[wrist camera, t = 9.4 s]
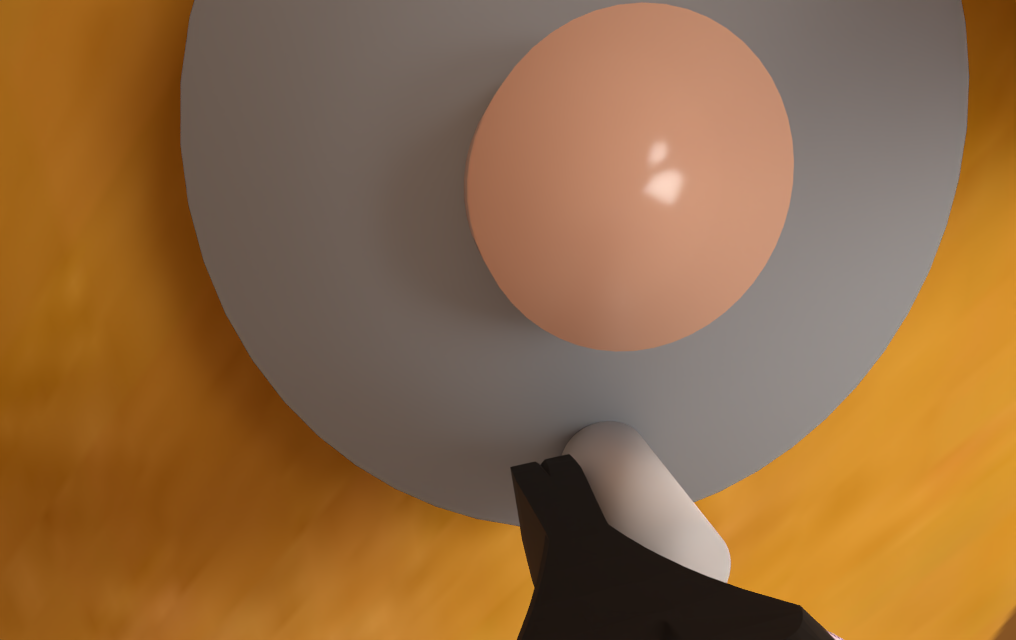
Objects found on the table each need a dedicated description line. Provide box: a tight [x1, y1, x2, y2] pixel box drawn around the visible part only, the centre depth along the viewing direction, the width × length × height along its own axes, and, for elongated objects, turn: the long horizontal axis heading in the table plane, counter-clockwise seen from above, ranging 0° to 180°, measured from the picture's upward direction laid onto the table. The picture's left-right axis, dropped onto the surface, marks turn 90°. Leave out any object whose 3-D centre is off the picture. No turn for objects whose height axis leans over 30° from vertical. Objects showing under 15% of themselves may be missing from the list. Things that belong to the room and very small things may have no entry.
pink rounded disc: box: [464, 2, 794, 352], centre depth 10 cm, size 6×6×2 cm
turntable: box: [181, 0, 969, 583], centre depth 10 cm, size 18×18×5 cm
